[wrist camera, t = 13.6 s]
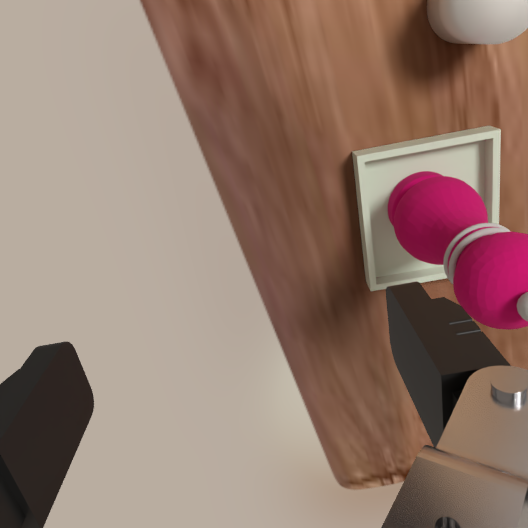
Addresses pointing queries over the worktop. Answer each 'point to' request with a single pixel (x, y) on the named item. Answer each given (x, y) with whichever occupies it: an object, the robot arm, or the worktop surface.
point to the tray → (399, 167)
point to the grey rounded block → (478, 20)
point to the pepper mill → (464, 246)
